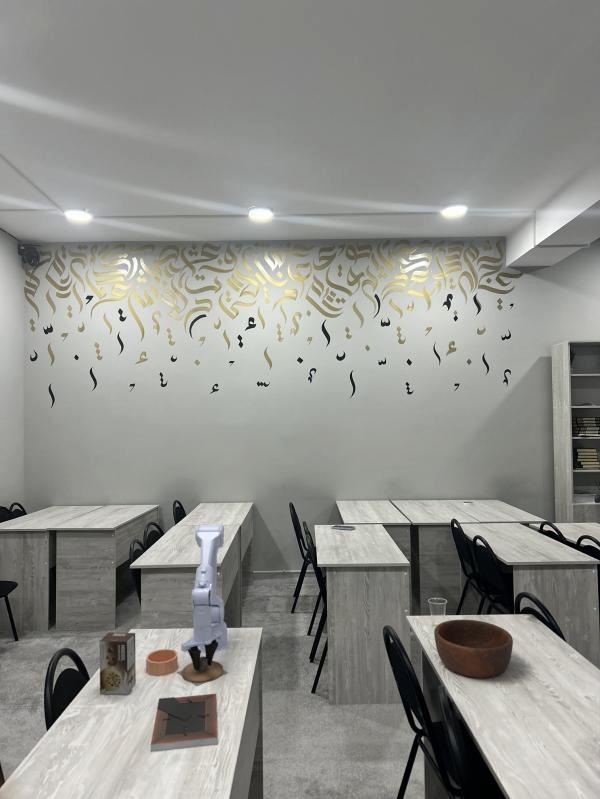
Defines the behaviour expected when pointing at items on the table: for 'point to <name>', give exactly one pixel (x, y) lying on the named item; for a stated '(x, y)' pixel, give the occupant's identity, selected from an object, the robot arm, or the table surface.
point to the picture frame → (185, 722)
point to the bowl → (162, 662)
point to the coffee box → (117, 663)
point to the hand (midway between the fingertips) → (202, 666)
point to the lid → (202, 671)
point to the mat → (203, 682)
